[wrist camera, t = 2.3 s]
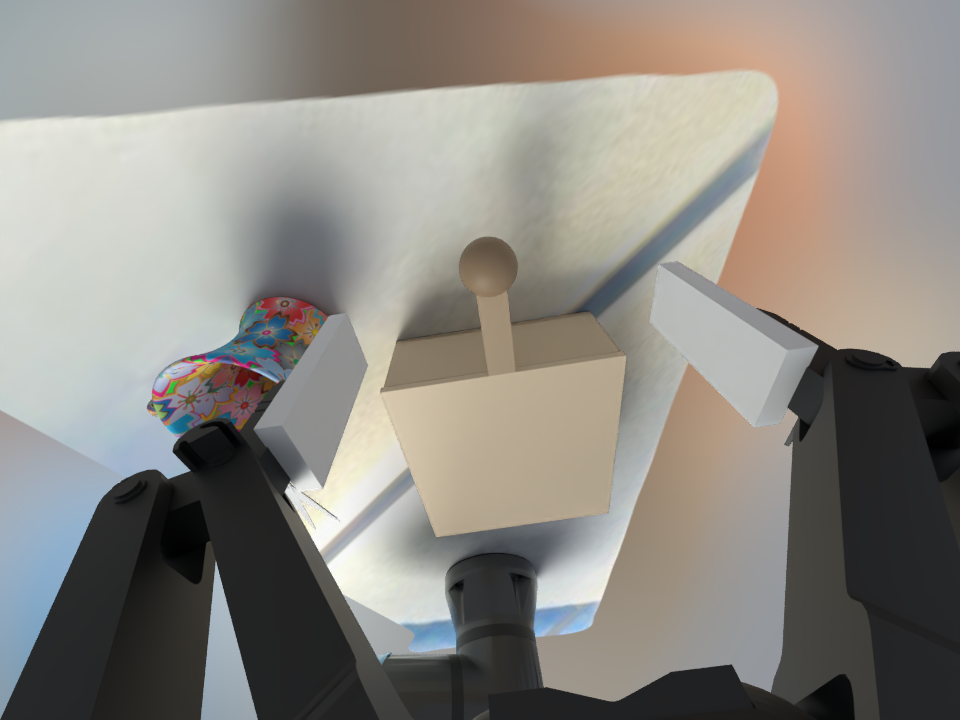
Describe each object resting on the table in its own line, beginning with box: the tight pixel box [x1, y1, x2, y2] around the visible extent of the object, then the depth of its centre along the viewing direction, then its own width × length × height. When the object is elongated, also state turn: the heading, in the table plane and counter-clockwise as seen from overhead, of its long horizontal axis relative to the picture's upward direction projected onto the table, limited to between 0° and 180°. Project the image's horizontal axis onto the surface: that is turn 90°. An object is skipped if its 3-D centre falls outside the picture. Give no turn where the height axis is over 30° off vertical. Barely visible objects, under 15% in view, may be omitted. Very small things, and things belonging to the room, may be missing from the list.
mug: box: [147, 297, 328, 438], centre depth 27 cm, size 12×9×11 cm
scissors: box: [285, 482, 339, 528], centre depth 42 cm, size 11×1×20 cm
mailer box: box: [384, 311, 620, 387], centre depth 34 cm, size 20×18×7 cm
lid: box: [380, 237, 627, 537], centre depth 28 cm, size 30×18×4 cm, turn 8°
